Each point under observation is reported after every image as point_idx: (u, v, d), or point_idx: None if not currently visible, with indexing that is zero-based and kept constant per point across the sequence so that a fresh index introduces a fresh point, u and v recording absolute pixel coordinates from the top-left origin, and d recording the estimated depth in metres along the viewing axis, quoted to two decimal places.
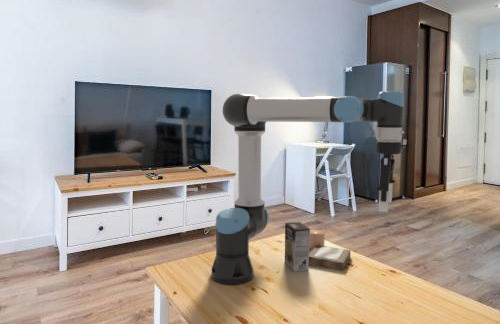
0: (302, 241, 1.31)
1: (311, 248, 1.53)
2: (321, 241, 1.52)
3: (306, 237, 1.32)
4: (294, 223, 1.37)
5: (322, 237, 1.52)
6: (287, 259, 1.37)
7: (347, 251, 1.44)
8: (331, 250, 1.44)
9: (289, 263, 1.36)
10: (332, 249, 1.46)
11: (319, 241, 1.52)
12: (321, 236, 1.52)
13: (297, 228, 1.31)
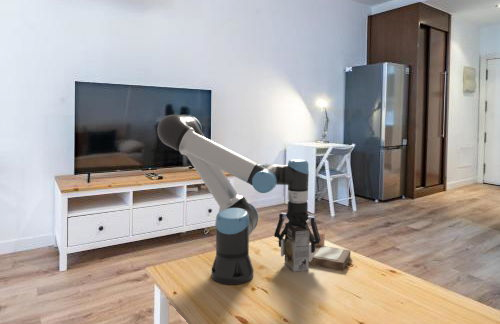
0: (302, 241, 1.31)
1: None
2: (321, 241, 1.52)
3: (306, 237, 1.32)
4: None
5: (322, 237, 1.52)
6: (287, 259, 1.37)
7: (347, 251, 1.44)
8: (331, 250, 1.44)
9: (289, 263, 1.36)
10: (332, 249, 1.46)
11: None
12: (321, 236, 1.52)
13: (297, 228, 1.31)
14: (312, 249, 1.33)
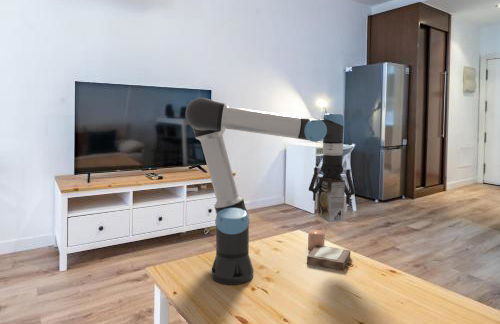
0: (338, 192, 1.35)
1: (311, 248, 1.53)
2: (321, 241, 1.52)
3: (341, 189, 1.35)
4: None
5: (322, 237, 1.52)
6: (321, 212, 1.40)
7: (347, 251, 1.44)
8: (331, 250, 1.44)
9: (323, 215, 1.39)
10: (332, 249, 1.46)
11: (319, 241, 1.52)
12: (321, 236, 1.52)
13: (332, 180, 1.34)
14: (347, 201, 1.36)
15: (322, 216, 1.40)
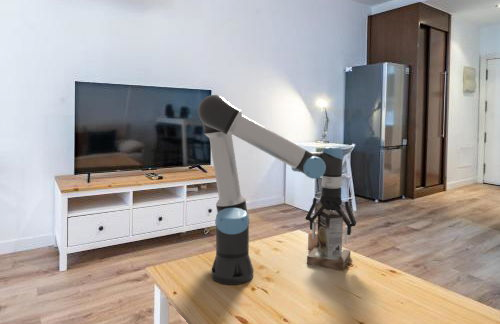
0: (336, 228, 1.36)
1: (311, 248, 1.53)
2: None
3: (339, 224, 1.37)
4: (327, 211, 1.43)
5: None
6: (320, 246, 1.42)
7: (347, 251, 1.44)
8: None
9: (322, 249, 1.41)
10: None
11: None
12: None
13: (330, 216, 1.36)
14: (348, 232, 1.37)
15: (321, 250, 1.42)
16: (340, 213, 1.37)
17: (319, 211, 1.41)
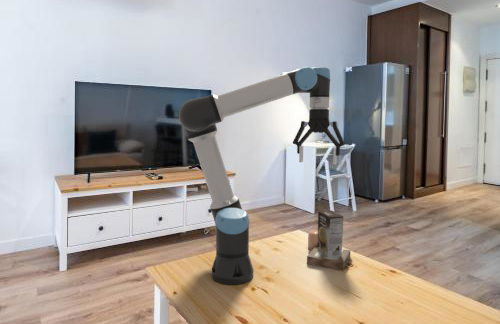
0: (336, 228, 1.36)
1: (311, 248, 1.53)
2: None
3: (340, 224, 1.37)
4: (327, 211, 1.42)
5: None
6: (320, 246, 1.42)
7: (347, 251, 1.44)
8: None
9: (322, 250, 1.41)
10: None
11: None
12: None
13: (331, 216, 1.36)
14: (337, 152, 1.37)
15: (321, 250, 1.42)
16: (328, 134, 1.37)
17: (306, 134, 1.40)
